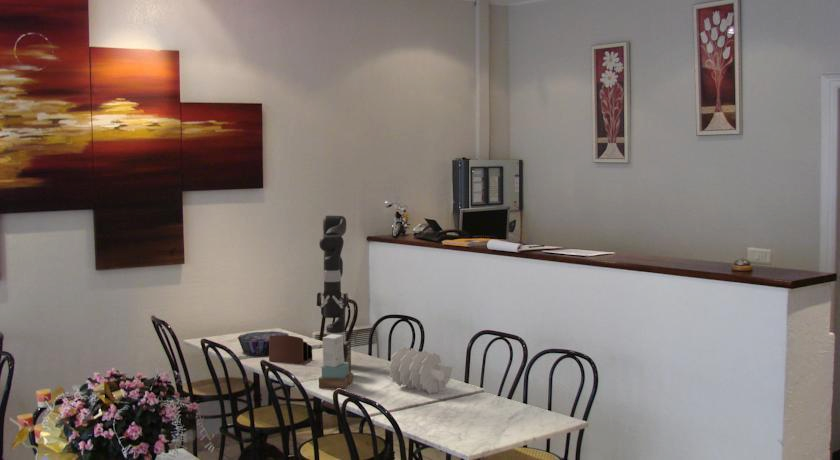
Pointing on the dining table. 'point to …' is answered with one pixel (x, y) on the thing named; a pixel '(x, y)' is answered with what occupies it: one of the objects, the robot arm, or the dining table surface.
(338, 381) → the tower bottom block
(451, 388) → the dining table surface
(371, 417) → the dining table surface
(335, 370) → the tower top block
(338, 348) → the small box
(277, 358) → the letter holder
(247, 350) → the decorative bowl
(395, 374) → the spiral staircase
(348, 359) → the coffee box
